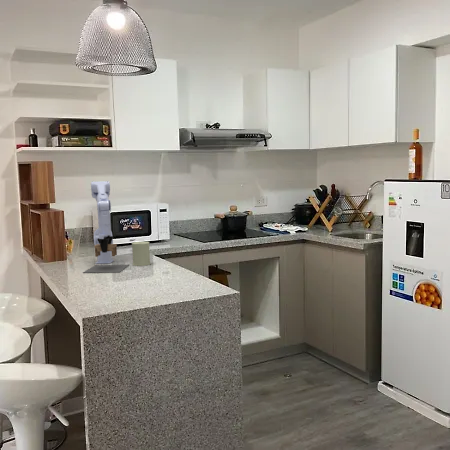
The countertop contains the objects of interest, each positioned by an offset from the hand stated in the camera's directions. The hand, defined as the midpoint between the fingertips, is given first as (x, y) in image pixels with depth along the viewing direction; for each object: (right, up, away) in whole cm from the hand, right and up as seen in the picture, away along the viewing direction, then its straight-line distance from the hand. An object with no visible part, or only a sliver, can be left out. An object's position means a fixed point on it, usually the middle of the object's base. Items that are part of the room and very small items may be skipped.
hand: (106, 251), depth 256 cm
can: (+16, -8, +12) cm, 21 cm away
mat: (0, -9, +1) cm, 9 cm away
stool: (0, -2, 0) cm, 2 cm away
